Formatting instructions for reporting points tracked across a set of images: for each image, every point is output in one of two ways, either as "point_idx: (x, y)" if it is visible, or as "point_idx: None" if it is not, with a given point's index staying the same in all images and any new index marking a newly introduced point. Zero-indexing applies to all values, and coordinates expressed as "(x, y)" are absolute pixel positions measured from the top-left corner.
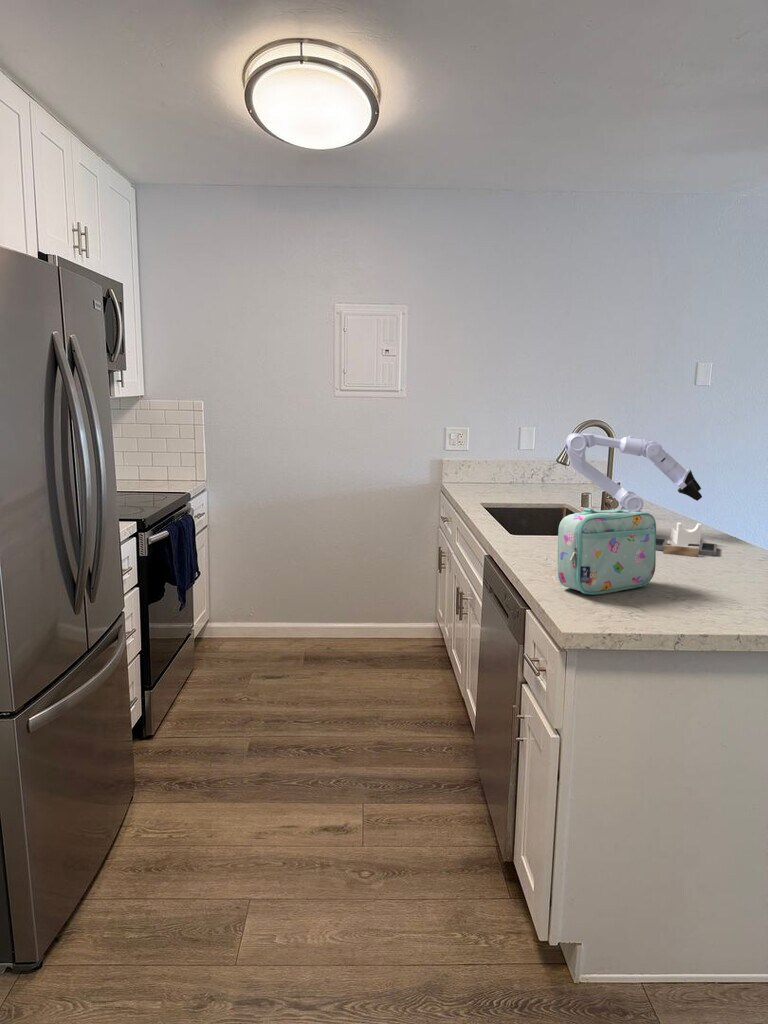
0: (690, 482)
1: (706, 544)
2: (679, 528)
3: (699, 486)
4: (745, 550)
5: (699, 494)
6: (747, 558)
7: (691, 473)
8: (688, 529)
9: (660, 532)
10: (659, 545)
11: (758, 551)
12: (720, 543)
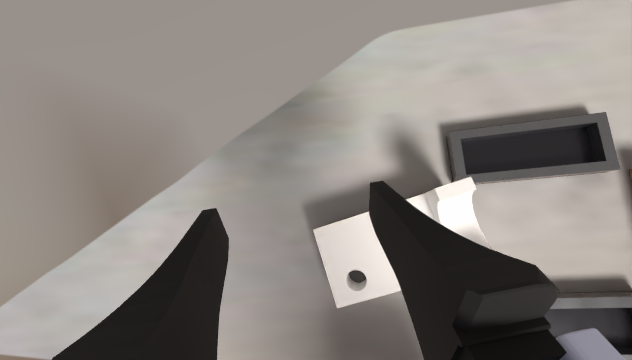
0: (539, 297)
1: (463, 163)
2: None
3: (210, 221)
4: (419, 61)
5: (399, 196)
6: (545, 35)
7: (149, 345)
8: (328, 242)
9: (276, 339)
10: (549, 319)
11: (410, 30)
12: (354, 138)
